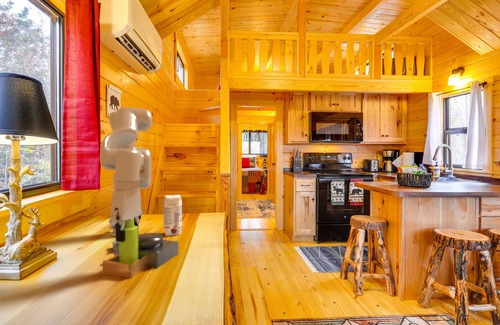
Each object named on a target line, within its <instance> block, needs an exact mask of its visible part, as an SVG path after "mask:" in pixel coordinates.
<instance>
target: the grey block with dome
mask: <svg viewBox="0 0 500 325" xmlns="http://www.w3.org/2000/svg"><path fill="white" fill-rule="evenodd" d="M163 236H164V235H163V234H162V233H159V232H158V233H157V232H146V233H144V232H143V233H140V234H139V233H138V260H137V261H135V262H133V263H132V264H127V263H119V247H117V248H114V250H113V256H111V257H110V258H107V259H104V260H103V261H102V274H103V275H107V276H114V277H122V278H128V279H132V278H134V277H135V276H137V275H139V274H140V273H141V272H143V271H145V270H146V269H148V268H153V269H155V268H157V269H159V268H160V267H161V266H163V265H164V264H166V263H167V262H168V261H170V260H171V259H173V258H174V257H176V256H178V255H179V241H176V240H167V239H164V237H163Z"/></svg>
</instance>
